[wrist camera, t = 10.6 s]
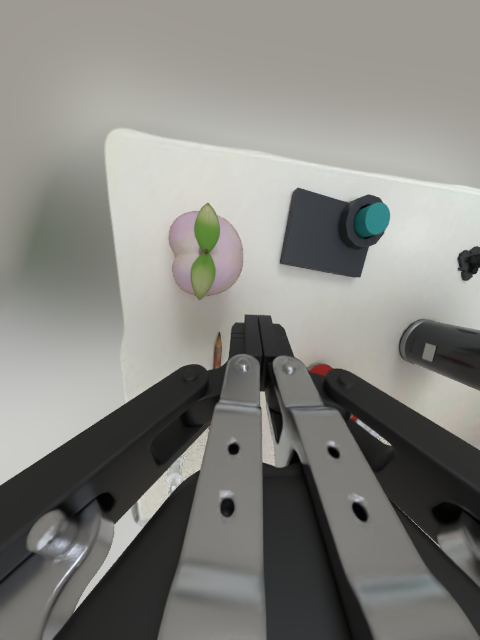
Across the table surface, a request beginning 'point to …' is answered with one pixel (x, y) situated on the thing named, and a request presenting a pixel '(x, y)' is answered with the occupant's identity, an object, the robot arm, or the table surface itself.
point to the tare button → (372, 220)
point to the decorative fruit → (205, 252)
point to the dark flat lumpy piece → (469, 262)
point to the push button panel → (326, 234)
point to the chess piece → (174, 475)
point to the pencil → (217, 354)
